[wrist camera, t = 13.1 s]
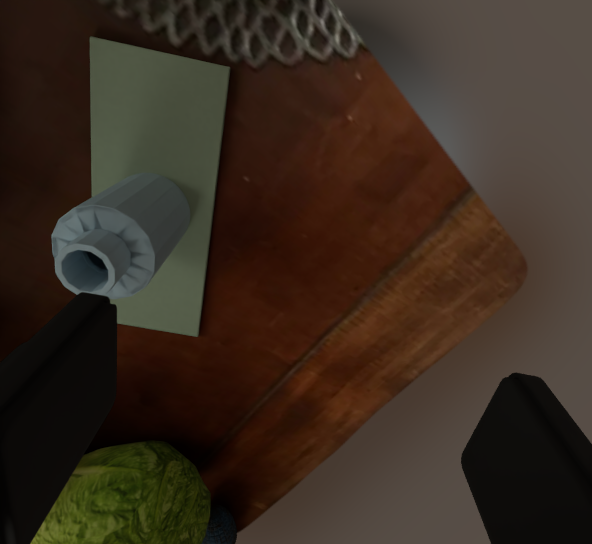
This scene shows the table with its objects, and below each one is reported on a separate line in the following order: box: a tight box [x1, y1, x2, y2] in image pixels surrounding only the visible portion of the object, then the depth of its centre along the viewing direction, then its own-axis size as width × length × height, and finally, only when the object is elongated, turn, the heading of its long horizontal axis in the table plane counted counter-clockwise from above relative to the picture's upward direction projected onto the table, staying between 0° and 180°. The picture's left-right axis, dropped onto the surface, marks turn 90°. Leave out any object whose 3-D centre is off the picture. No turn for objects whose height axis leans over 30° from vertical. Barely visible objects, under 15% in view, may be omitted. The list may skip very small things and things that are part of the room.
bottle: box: [52, 173, 190, 299], centre depth 29 cm, size 6×6×12 cm
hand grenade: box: [202, 505, 237, 544], centre depth 50 cm, size 4×4×10 cm
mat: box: [90, 36, 230, 337], centre depth 35 cm, size 24×10×1 cm, turn 169°
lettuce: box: [30, 440, 211, 544], centre depth 43 cm, size 15×24×14 cm
